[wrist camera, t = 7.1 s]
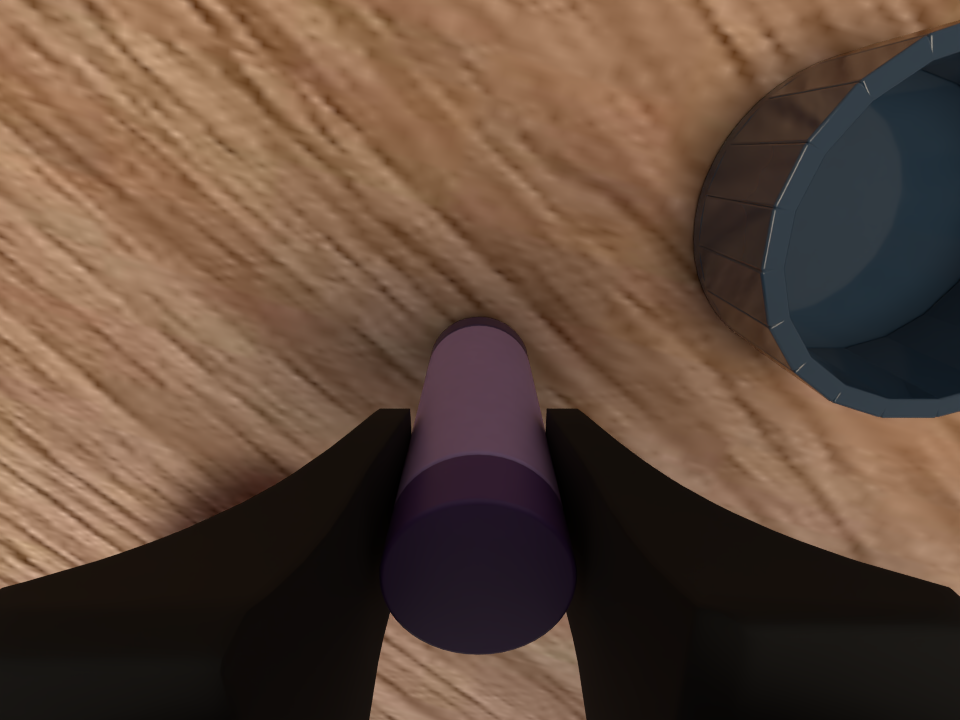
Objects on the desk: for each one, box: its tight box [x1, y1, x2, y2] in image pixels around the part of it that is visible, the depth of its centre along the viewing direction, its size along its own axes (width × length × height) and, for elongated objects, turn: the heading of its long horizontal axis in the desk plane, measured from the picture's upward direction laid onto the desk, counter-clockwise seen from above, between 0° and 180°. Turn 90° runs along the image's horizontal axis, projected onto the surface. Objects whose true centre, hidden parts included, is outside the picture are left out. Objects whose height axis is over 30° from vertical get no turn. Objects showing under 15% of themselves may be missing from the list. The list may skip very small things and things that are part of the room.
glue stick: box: [379, 317, 577, 655], centre depth 11 cm, size 3×3×8 cm
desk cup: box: [694, 20, 960, 418], centre depth 13 cm, size 8×8×4 cm
